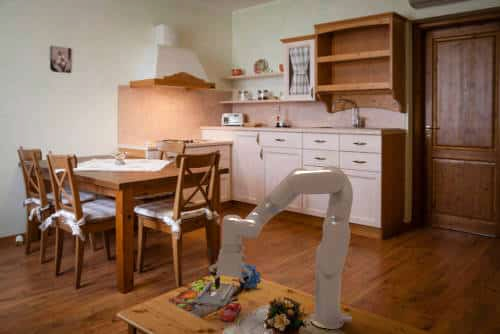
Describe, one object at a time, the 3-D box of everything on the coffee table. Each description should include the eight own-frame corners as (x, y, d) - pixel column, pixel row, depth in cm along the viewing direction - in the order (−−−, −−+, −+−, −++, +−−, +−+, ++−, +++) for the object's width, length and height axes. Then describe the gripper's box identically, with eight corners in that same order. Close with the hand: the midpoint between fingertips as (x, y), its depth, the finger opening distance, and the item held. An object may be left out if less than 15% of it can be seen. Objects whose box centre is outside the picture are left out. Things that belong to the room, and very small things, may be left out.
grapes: (233, 291, 194) (234, 265, 193) (235, 285, 201) (236, 260, 199) (259, 293, 193) (260, 266, 191) (261, 287, 199) (261, 261, 198)
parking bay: (237, 287, 198) (237, 282, 198) (224, 307, 178) (224, 301, 178) (207, 284, 201) (207, 279, 201) (192, 303, 181) (192, 298, 180)
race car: (231, 324, 165) (231, 314, 164) (218, 322, 166) (218, 312, 166) (243, 309, 177) (243, 300, 176) (230, 307, 179) (230, 298, 178)
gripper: (255, 246, 170) (253, 288, 172) (212, 242, 174) (211, 283, 176) (251, 252, 163) (249, 296, 165) (206, 247, 166) (205, 290, 169)
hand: (229, 289), depth 171 cm, fingers open, 9 cm apart
